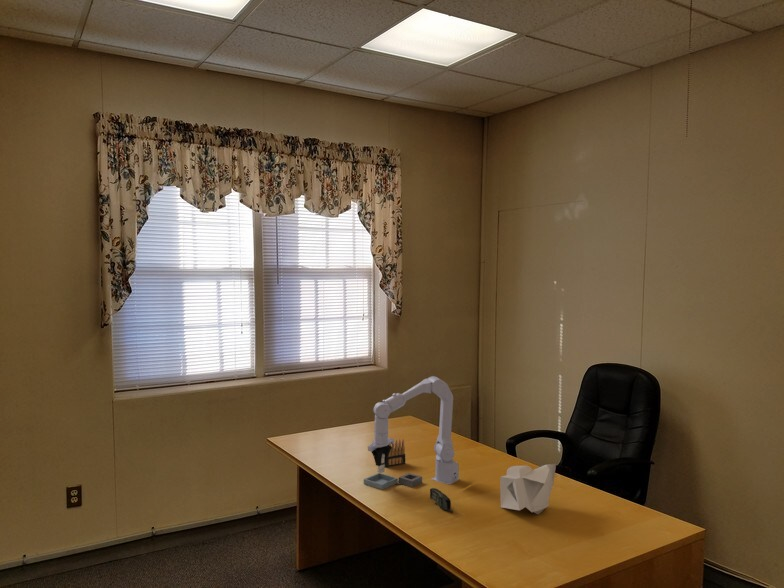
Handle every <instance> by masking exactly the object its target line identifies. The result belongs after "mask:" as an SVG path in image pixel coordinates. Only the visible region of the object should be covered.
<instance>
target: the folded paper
mask: <svg viewBox="0 0 784 588" xmlns="http://www.w3.org/2000/svg"><path fill="white" fill-rule="evenodd" d="M556 467H557V464H556V463H548V464H544V465H541V466H539V467H537V468H534V469H533V468H531V467H530V466H529V465H513V466H510V467H508V468H507V470H506V475H502V476H500V477H499V483H500V485H499V486H500V490H499V491H500V495H499V496H500V508H503V509H509V510H515V511H521V510H523V509H524V508H526V509H527V510H528V511H530V512H531V513H534V514H536V515H537V516H538V515H540V514H541V513H542V512H543V511H544V510H545V509H547V508H548V507H549V500H550V496H551V494H552V493H551V492H552V489H553V486H554V480H555V477H556V476H555V473H556Z"/></svg>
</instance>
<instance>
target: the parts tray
mask: <svg viewBox="0 0 784 588" xmlns="http://www.w3.org/2000/svg"><path fill="white" fill-rule="evenodd" d="M397 484H399V477H395V476H391V475H388V474H385V473H383V472H382V473H380V472H377V473H376V474H373V475H370V476H368V477H366V478H363V485H365V486H369V487H371V488H375V489H378V490H381V491H383V490H386V489H387V488H389V487H392V486H394V485H397Z"/></svg>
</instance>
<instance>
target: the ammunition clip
mask: <svg viewBox="0 0 784 588" xmlns="http://www.w3.org/2000/svg"><path fill="white" fill-rule="evenodd" d="M389 446H391V447H392V449H391V450H390V452H389V455H388V458H387V462H386V464H384V469H385V468H391V467H397V466H401V465H406V452H405V451H406V447H405V439H404V438H402V439H399V440H397V439H395V441H394V444H389Z"/></svg>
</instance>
